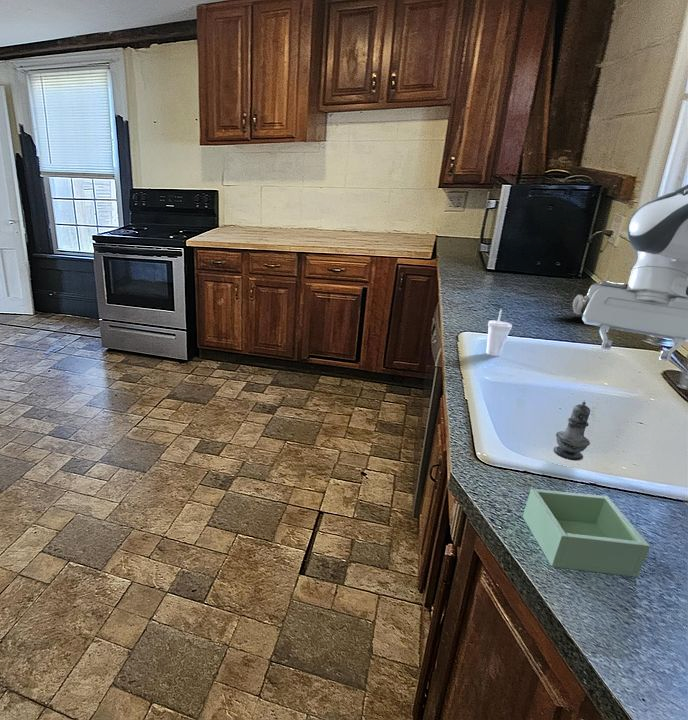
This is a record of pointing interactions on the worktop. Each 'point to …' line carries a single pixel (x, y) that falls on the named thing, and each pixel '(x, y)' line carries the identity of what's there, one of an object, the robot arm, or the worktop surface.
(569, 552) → the bin
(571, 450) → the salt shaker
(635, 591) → the worktop surface
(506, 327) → the smoothie
